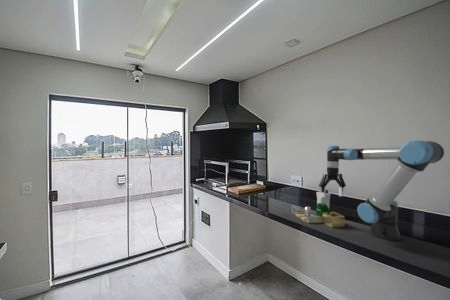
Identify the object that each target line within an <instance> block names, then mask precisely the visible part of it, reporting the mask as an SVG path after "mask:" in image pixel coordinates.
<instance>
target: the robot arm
mask: <svg viewBox="0 0 450 300" xmlns="http://www.w3.org/2000/svg"><path fill="white" fill-rule="evenodd" d="M326 153H327V156H326V157H327V158H326V173H323V174H322V178H321V180H320V182H319V184H318V187H319V188H321V191H320V192H322V197H326V190H327V189H326V186H327V185H328V184H329V182H330V181H335V182H336V183H337V184H338V197H343V192H344V189H345V187H347V184H346V183H345V180H344V177H343V174H342V173H339V172H340V171H339V170H340V169H339V167H340V162H339V161H340V160H344V161H354V160H359V161H360V160H361V161H362V160H397V164H396V166H395V167H394V168H393V170H392V171H391V172H390V173H389V175H388V176H387V177H386V179H385V180H384V181H383V183H382V185H380V187H379V188H378V190H377V191H375V194H374V195H371V196H368V197H367V199H366V200H365V201H364V202H361V203H360V204H358V206H357V207H356V210H357V214H358V216H359V218H360V219H361V220H362V221H363V222H365V223H367V224H371V225H370V228H369V233H370V234H371V235H372V236H374V237H377V238H379V239H381V240H386V241H399V240H401V234H400V230H399V228H398V214H399V211H398V210H399V205H398V202H397V200H396V198H397V197H398V196H399V195H400V194H401V192H402V191H403V190H404V189H405V188H406V187H407V185H408V184H409V183H410V181H411V180H413V178H414V177H415V176H416V174H417V173H421V172H424V170H425V169H427V168H428V166H429V165H430V164H436V163H437V162H439V161H441V160H442V159H443V157H444V155H445V150H444V147H443V146H442V145H441V144H440V143H438V142H436V141H431V140H413V141H409V142H406V143H404V144H403V145H401V146H392V147H391V146H389V147H388V146H387V147H368V148H340V146H339V145H328V146H327V151H326Z"/></svg>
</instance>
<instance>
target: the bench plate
mask: <svg viewBox="0 0 450 300" xmlns="http://www.w3.org/2000/svg"><path fill="white" fill-rule="evenodd" d="M293 215H294V216H296V217H297V219H300V220H302V221H304V222H305V223H306V224H318V223H319V224H320V223H323V220H322V221H308V220H307V217H305V213H303V214H296V213H295V212H293ZM310 216H315V215H314V214H311V213H310Z"/></svg>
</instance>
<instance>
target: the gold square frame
mask: <svg viewBox="0 0 450 300" xmlns="http://www.w3.org/2000/svg"><path fill="white" fill-rule="evenodd" d="M328 214H330V215H328ZM321 217H322V220H323V222H322V223H323V224H325V225H326V226H328V227H330V228H332V229H333V228H344V227H346V226H345V223H346V217H345V216H344V215H341V214H340V213H338V212H335V211H329V213H328V212H326V213H323V214H322V216H321Z"/></svg>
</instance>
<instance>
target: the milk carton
mask: <svg viewBox="0 0 450 300" xmlns="http://www.w3.org/2000/svg"><path fill="white" fill-rule="evenodd" d="M330 201H331V193H330V192H329V190H328V189H326V197H322V192H321V191H316V212H315V213H316V216H321V217H322V214H323V213H326V212H328V213H329V214H328V215H330V205H331V204H330Z"/></svg>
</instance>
